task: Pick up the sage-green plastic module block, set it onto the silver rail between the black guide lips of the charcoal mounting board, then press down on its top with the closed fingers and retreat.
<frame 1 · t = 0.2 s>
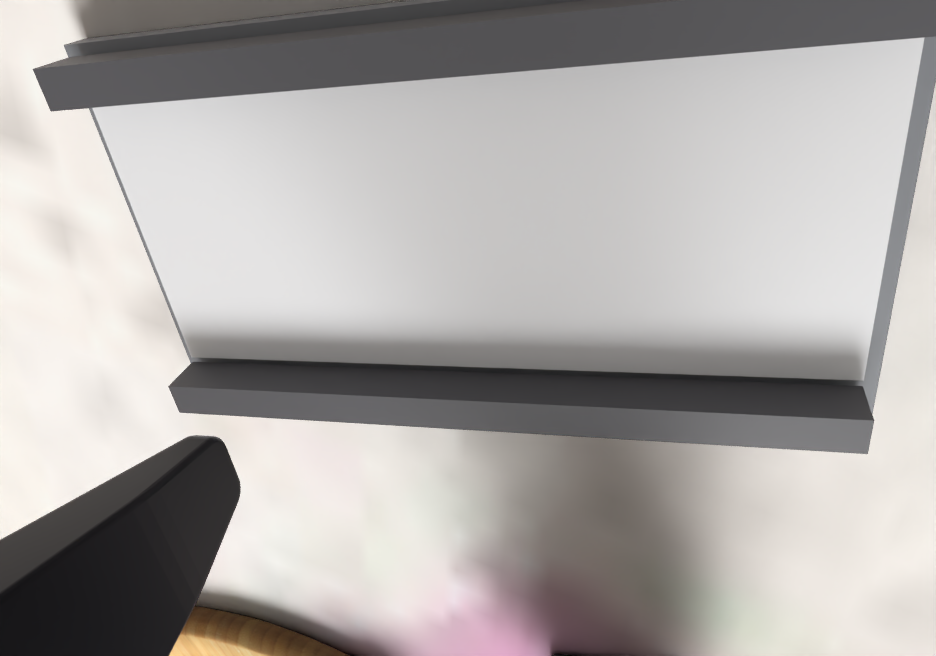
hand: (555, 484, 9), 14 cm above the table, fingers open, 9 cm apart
rail board: (473, 218, 23), on the table
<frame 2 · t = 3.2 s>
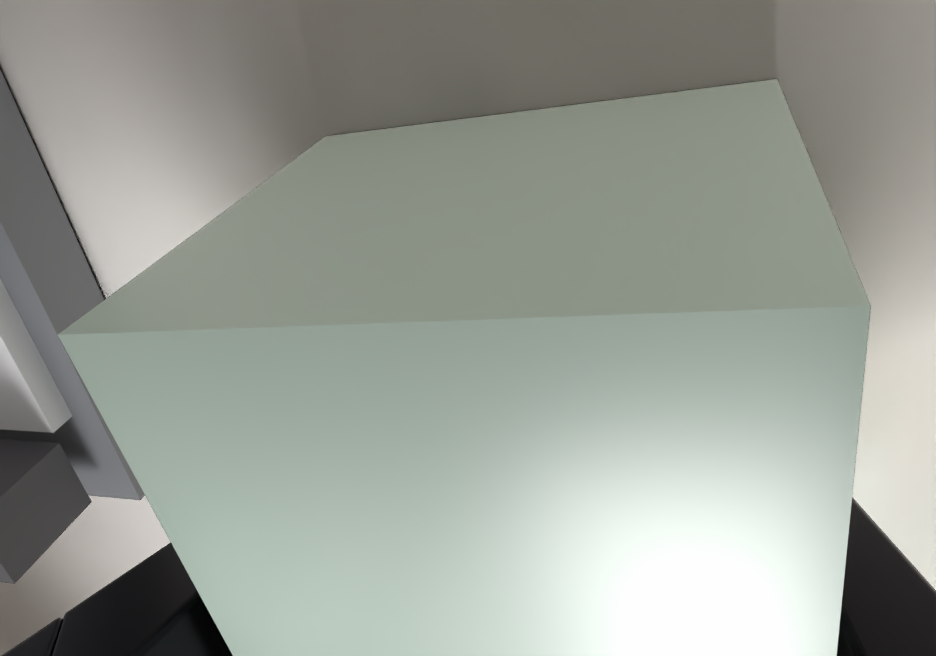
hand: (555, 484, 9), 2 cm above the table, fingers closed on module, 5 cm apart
module: (571, 404, 10), on the table, touching gripper
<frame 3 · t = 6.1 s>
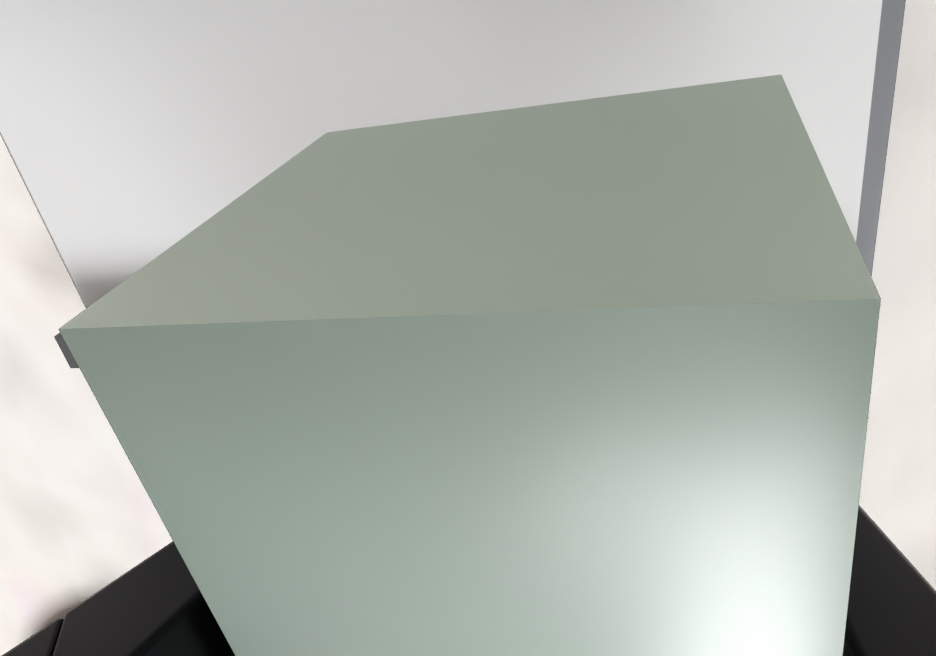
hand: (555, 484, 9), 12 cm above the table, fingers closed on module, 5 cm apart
module: (573, 401, 10), point 10 cm above the table, touching gripper
rail board: (384, 117, 19), on the table
when the fingers open (3 cm above the table, at t = 9.2 s): module stays where it is, resting on rail board.
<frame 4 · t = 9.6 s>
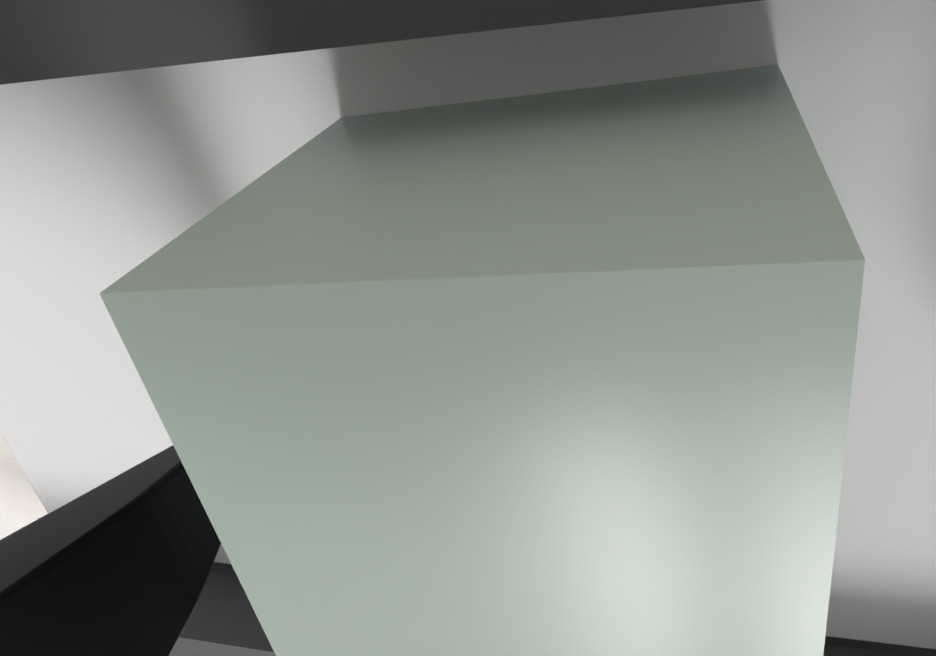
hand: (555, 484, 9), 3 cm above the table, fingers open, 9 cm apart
module: (575, 381, 10), point 1 cm above the table, touching rail board
rail board: (587, 331, 11), on the table
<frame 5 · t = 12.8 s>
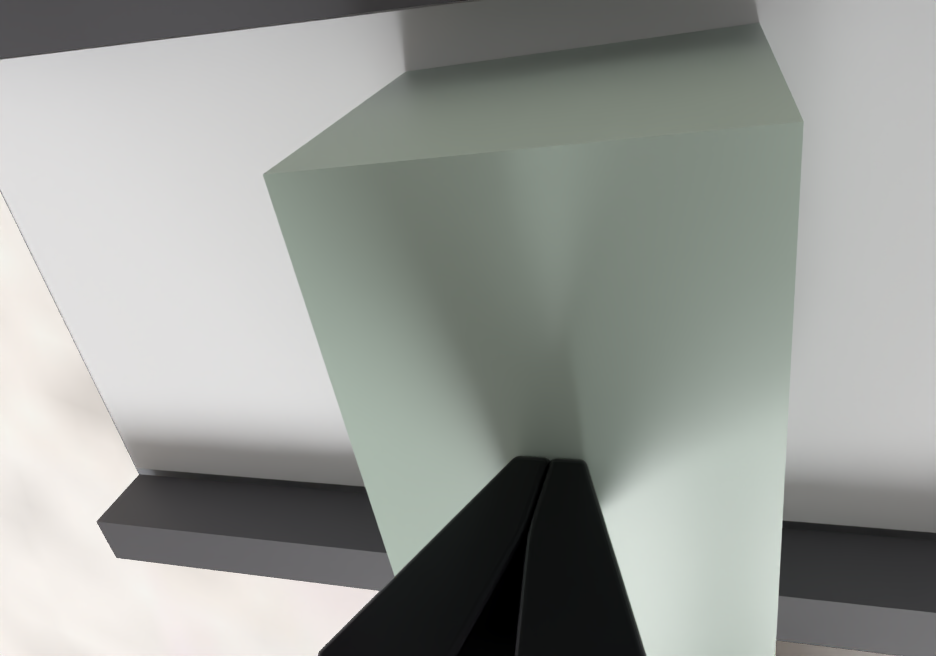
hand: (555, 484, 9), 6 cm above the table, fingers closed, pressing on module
module: (594, 296, 12), point 1 cm above the table, touching gripper, rail board
rail board: (602, 261, 13), on the table
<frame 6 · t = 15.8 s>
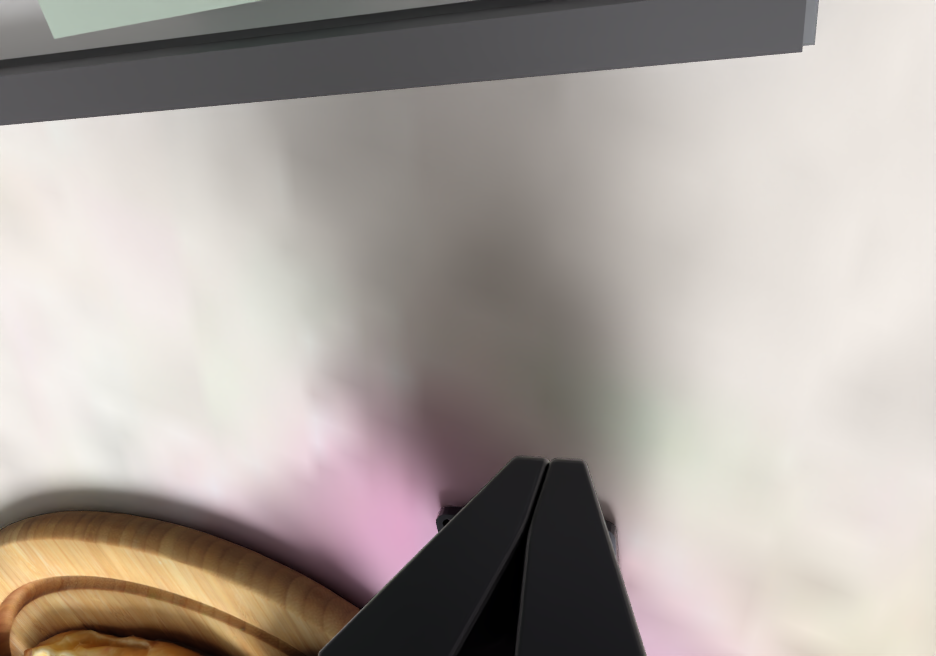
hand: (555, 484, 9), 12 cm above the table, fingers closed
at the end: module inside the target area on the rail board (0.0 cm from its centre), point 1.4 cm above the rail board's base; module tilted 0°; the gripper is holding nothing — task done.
